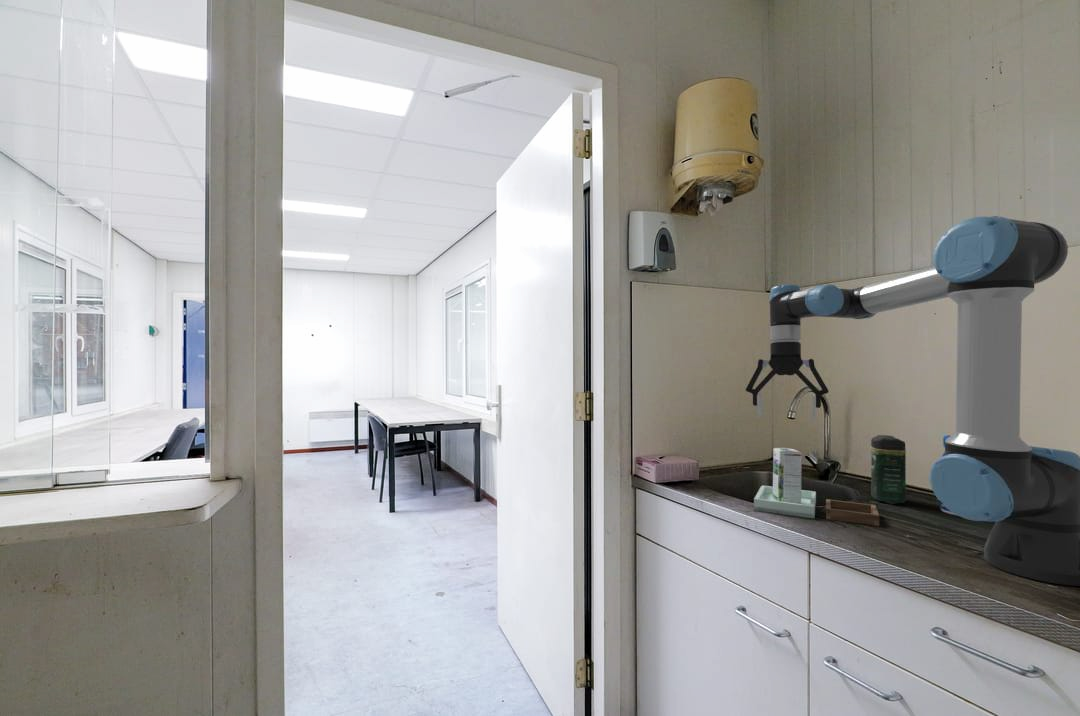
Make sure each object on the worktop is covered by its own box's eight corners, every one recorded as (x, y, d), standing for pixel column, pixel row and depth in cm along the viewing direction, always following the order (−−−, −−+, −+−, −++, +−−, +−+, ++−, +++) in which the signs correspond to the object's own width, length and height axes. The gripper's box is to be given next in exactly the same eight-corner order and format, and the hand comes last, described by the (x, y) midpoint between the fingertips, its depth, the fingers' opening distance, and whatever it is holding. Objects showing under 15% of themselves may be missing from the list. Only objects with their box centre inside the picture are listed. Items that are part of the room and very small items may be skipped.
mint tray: (814, 518, 123) (814, 506, 123) (754, 510, 130) (754, 498, 130) (815, 502, 139) (815, 491, 139) (761, 495, 146) (761, 485, 146)
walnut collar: (879, 526, 118) (879, 515, 118) (826, 518, 123) (826, 508, 123) (875, 514, 127) (875, 504, 127) (826, 508, 133) (826, 499, 133)
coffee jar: (909, 506, 136) (908, 438, 136) (875, 502, 139) (874, 436, 139) (900, 497, 144) (900, 434, 145) (868, 494, 148) (868, 432, 148)
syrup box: (772, 499, 137) (771, 447, 138) (794, 500, 137) (794, 448, 137) (779, 505, 132) (779, 450, 132) (802, 506, 131) (802, 451, 131)
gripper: (837, 341, 132) (839, 420, 132) (739, 343, 145) (739, 415, 144) (838, 339, 126) (839, 422, 125) (735, 342, 138) (735, 417, 138)
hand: (786, 419), depth 135 cm, fingers open, 13 cm apart
